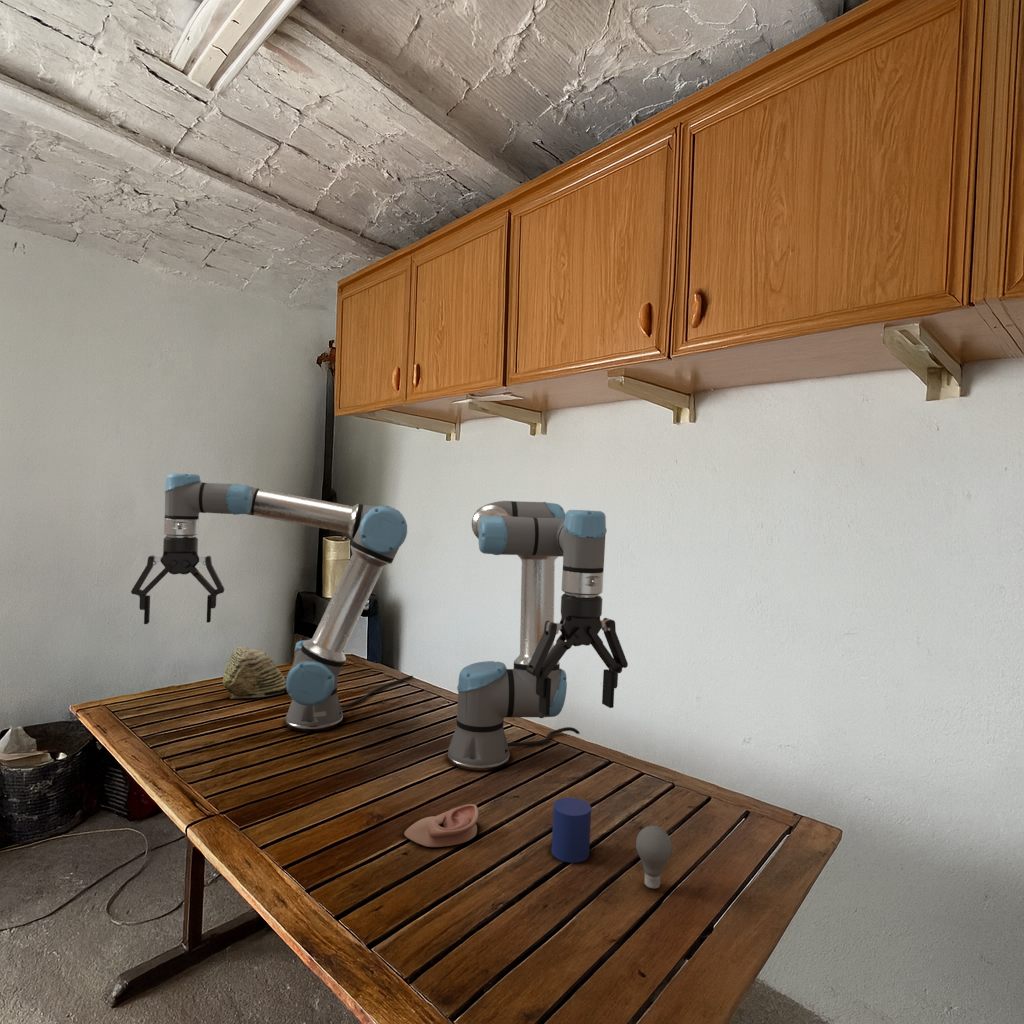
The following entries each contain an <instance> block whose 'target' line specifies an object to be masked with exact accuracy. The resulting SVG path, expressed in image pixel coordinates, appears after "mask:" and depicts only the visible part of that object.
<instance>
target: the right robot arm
mask: <svg viewBox="0 0 1024 1024" xmlns="http://www.w3.org/2000/svg"><path fill="white" fill-rule="evenodd" d="M606 519H607V517H606V513H605V512H603V511H601V510H590V509H589V510H588V509H587V510H586V509H569V510H567V511H566V512H565V510H564V507H562V506H561V504H559V503H555V502H546V501H518V500H516V501H514V500H498V501H494V502H490V503H486V504H485V505H483V506H481V507H479V508H478V509H477V510H476V511H475V512H474V513H473V516H472V518H471V530H472V532H473V534H474V536H475V537H476V538H477V539H478V550H479V551H480V552H481V553H482V554H484V555H493V556H501V555H502V556H503V555H504V556H517V557H518V558H519V559H520V560H521V575H520V576H521V579H520V581H521V582H520V583H521V585H520V628H519V629H520V633H519V655H518V656H517V657H516V658H515V659H514V660H513V668H507V665H506V664H505V663H504V662H501V661H495V660H486V661H479V662H475V663H474V662H473V663H471V664H468V665H466V666H464V667H463V668H462V669H461V670H460V672H459V674H458V683H457V687H456V690H457V707H456V727H455V730H454V733H453V736H451V737H450V738H449V743H450V744H449V746H448V749H447V760H448V762H449V763H450V764H451V765H452V766H454V767H456V768H459V769H462V770H466V771H473V772H486V771H487V772H488V771H494V770H497V769H501V768H503V767H505V766H506V765H508V763H509V762H510V749H509V748H510V747H528V746H537V745H542V744H543V745H544V744H546V743H548V742H549V741H550V739H551V737H552V736H554V735H558V734H560V733H563V732H573V733H575V734H576V735H580V734H581V732H580V731H579V730H578V729H577V728H575V727H571V726H570V727H569V726H566V727H561V728H558V729H555V730H553V731H550V732H548V733H547V735H546V737H545V738H543V739H540V740H534V741H532V740H531V741H521V742H520V741H519V742H518V741H517V742H516V741H515V742H508V740H507V738H506V733H505V730H504V721H505V720H504V719H505V718H512V719H513V718H539V719H545V718H555V717H557V716H559V715H560V713H561V712H562V710H563V708H564V706H565V701H566V696H567V689H568V682H567V672H566V670H565V669H562V668H561V667H560V660H561V659H562V658H563V656H564V655H565V653H567V651H568V650H570V649H571V648H572V647H580V646H592V648H593V649H594V651H595V652H596V654H597V655H598V656H599V658H600V659H601V660H602V662H603V663H604V665H605V666H606V668H605V669H603V672H602V678H603V679H602V695H601V704H602V705H604V706H606V707H607V708H608V709H613V708H614V704H615V689H617V688H618V685H619V684H618V683H619V674H621V673H622V672H623V669H626V668H628V666H629V664H628V660H627V657H626V655H625V652H624V650H623V647H622V643H621V641H620V640H619V637H618V634H617V630H616V629H617V628H616V620H614V619H611V618H609V617H604V618H603V619H601V616H602V614H603V597H602V596H601V594H602V593H603V591H604V589H603V588H604V573H605V572H604V571H605V570H604V568H605V553H606V535H607V520H606ZM560 557H562V571H561V572H562V573H561V575H562V576H561V592H563V593H562V594H561V596H560V616H561V617H560V621H559V622H555V589H556V588H555V587H556V586H555V582H556V580H555V579H556V560H557V559H558V558H560ZM600 631H603V635H604V637H605V640H606V642H607V645H608V647H609V649H608V648H607V646H606V645H605V644H604V642H603V640H602V638H601V637H600V635H599V632H600ZM559 632H560V633H561V634H560V635H559V636H558V638H557V639H556V637H557V635H558V634H559ZM555 639H556V641H555ZM555 642H556V643H555ZM609 650H610V651H609Z"/></svg>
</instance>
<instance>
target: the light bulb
mask: <svg viewBox="0 0 1024 1024" xmlns="http://www.w3.org/2000/svg"><path fill="white" fill-rule="evenodd" d="M635 848H636V849H635V850H636V852H637V854H638V857H639V858H640V860H641V863H642V869H643V872H644V879H643V880H644V885H645V886H647V887H648V888H650V889H658V888H660V886H661V875H662V874H663V871H664V867H665V866H666V863H668V861H669V860H670V858H671V855H672V852H673V842H672V840H671V838H670V836H669V834H668V832H666V831H665V829H663V828H662V827H660V826H657V825H648V826H645V827H643V828H642V829H641V830H640V831H639V832H638V833H637V835H636V839H635Z"/></svg>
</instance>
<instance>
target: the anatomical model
mask: <svg viewBox="0 0 1024 1024" xmlns="http://www.w3.org/2000/svg"><path fill="white" fill-rule="evenodd" d="M478 820H479V809H478V806H477V805H476V804H475V803H468V804H463V805H460V806H456V807H454V808H451V809H449V810H447V811H444V812H442V813H440V814H438V815H435V816H432V815H431V816H426V817H423V818H421V819H419V820H417V821H416V822H414V823H413V824H411V825H410V826H408V828H407V829H406V830H405V831H404V836H405V837H406V838H407V839H408V840H410V841H412V842H414V843H415V844H418V845H421V846H423V847H427V848H442V847H451V846H456V845H461V844H464V843H466V842H469V841H471V840H472V839H473V838H474V837H476V835H477V833H478V825H477V822H478Z"/></svg>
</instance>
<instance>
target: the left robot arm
mask: <svg viewBox="0 0 1024 1024" xmlns="http://www.w3.org/2000/svg"><path fill="white" fill-rule="evenodd" d="M200 513H201V514H221V515H234V516H235V515H247V516H254V517H260V518H265V519H270V520H275V521H281V522H286V523H290V524H296V525H303V526H306V527H307V526H308V527H313V528H319V529H324V530H329V531H334V532H339V533H345V534H348V536H349V537H350V538H353V539H352V541H351V543H350V550H351V553H352V555H351V556H350V559H349V561H348V563H347V565H346V567H345V570H344V571H343V573H342V576H341V577H340V580H339V582H338V584H337V586H336V588H335V590H334V591H333V594H332V597H331V598H330V600H329V602H328V604H327V607H326V609H325V611H324V613H323V615H322V617H321V619H320V622H319V623H318V626H317V627H316V630H315V632H314V633H313V636H312V638H310V639H303V640H299V641H297V642H296V643H295V648H294V650H293V651H294V661H293V664H292V665H291V667H290V669H289V670H288V672H287V674H286V677H285V680H286V692H287V694H288V696H289V697H290V699H291V702H290V704H289V708H288V711H287V713H286V715H285V726H286V728H287V729H289V730H291V731H294V732H295V731H296V732H301V733H316V732H325V731H329V730H332V729H335V728H337V727H339V726H340V725H342V723H343V722H344V714H343V709H344V708H347V707H348V708H349V707H350V706H353V705H356V704H358V703H359V702H362V701H363V700H365V699H367V698H368V697H370V696H371V695H372V694H374V693H376V692H378V691H380V690H382V689H385V688H386V687H389V686H392V685H394V684H397V683H401V682H403V681H407V680H410V679H412V678H414V675H412V674H411V675H408V676H405V677H403V678H399V679H396V680H394V681H391V682H388V683H385V684H383V685H381V686H379V687H377V688H374V689H373V690H371V691H369V692H368V693H367V694H365V695H364V696H362V697H360V698H358V699H356V700H354V701H351V702H349V703H346V704H345V703H344V704H341V702H340V699H339V695H338V682H339V681H338V680H339V678H338V677H339V675H340V673H341V671H342V669H343V667H344V664H345V662H346V660H347V657H346V654H345V653H344V651H345V649H346V647H347V645H348V643H349V640H350V639H351V636H352V634H353V632H354V630H355V628H356V626H357V624H358V621H359V620H360V617H361V616H362V613H363V611H364V608H365V607H366V605H367V603H368V601H369V598H370V596H371V594H372V592H373V590H374V588H375V586H376V584H377V581H378V579H379V577H380V576H381V573H382V571H383V569H384V568H385V567H389V566H390V565H392V564H393V562H394V560H395V558H396V556H397V553H398V551H399V549H400V547H401V546H402V545H403V544H404V542H405V540H406V538H407V535H408V524H407V521H406V518H405V517H404V515H403V514H402V512H401V511H399V510H398V509H396V508H395V507H392V506H389V505H368V504H361V503H357V504H355V505H348V504H342V503H338V502H332V501H327V500H322V499H316V498H311V497H305V496H301V495H297V494H295V495H294V494H292V493H285V492H279V491H275V490H269V489H264V488H258V487H253V486H250V485H248V484H242V483H220V482H216V483H215V482H203V481H202V480H201V476H200V475H199V474H195V473H179V472H178V473H176V472H172V473H169V474H167V476H166V479H165V489H164V517H163V518H164V520H163V524H164V525H163V534H164V535H165V536H164V537H163V547H162V555H161V556H156V555H154V554H151V555H149V556H148V557H147V561H146V566H145V568H144V569H143V571H142V572H141V574H140V575H139V577H138V579H137V581H136V582H135V584H134V585H133V587H132V589H131V591H130V593H131V594H132V595H134V596H135V595H136V596H138V597H139V607H138V608H139V610H141V611H144V613H143V625H149V623H150V617H151V616H150V614H151V611H150V610H151V595H147V594H149V592H151V590H152V589H154V587H156V585H157V584H158V583H159V582H160V581H161V580H163V578H164V577H165V576H166V575H168V574H171V575H179V574H180V575H188V574H191V575H192V576H193V577H194V578H195V579H196V581H198V583H199V584H200V585H201V586H202V587H203V588H204V589H205V590H206V591H207V592H208V593H209V594H208V595H207V599H206V623H211V621H212V609H216V606H217V596H218V595H221V594H223V593H224V592H225V587H224V585H223V583H222V581H221V579H220V577H219V575H218V573H217V571H216V569H215V567H214V565H213V563H212V562H213V561H212V560H213V559H212V556H211V555H206V556H199V554H198V551H199V538H198V537H196V536H198V535H199V523H200V519H199V518H200ZM159 562H160V563H161V564H162V565H163V567H164V568H163V569H162V570H161V571H160V572H159V573H158V574H157V575H156V576H155V577H154V579H152V580H151V581H150V582H149V583H148V584H147V585H146V586H145V587H144V588H143V589H141V588H142V586H143V584H144V583H145V581H146V580H147V578H148V576H149V574H150V573H151V572H152V570H153V568H154V567H155V566H156V565H158V563H159ZM199 563H201V564H202V565H203V566H205V567H206V570H207V572H208V574H209V575H210V577H211V580H212V581H213V583H214V585H215V587H214V586H213V585H212V584H211V583H210V582H209V581H208V580H207V579H206V577H204V575H203V574H202V573H201V572H200V571H199V569H198V568H197V565H198V564H199ZM342 708H343V709H342Z"/></svg>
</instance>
